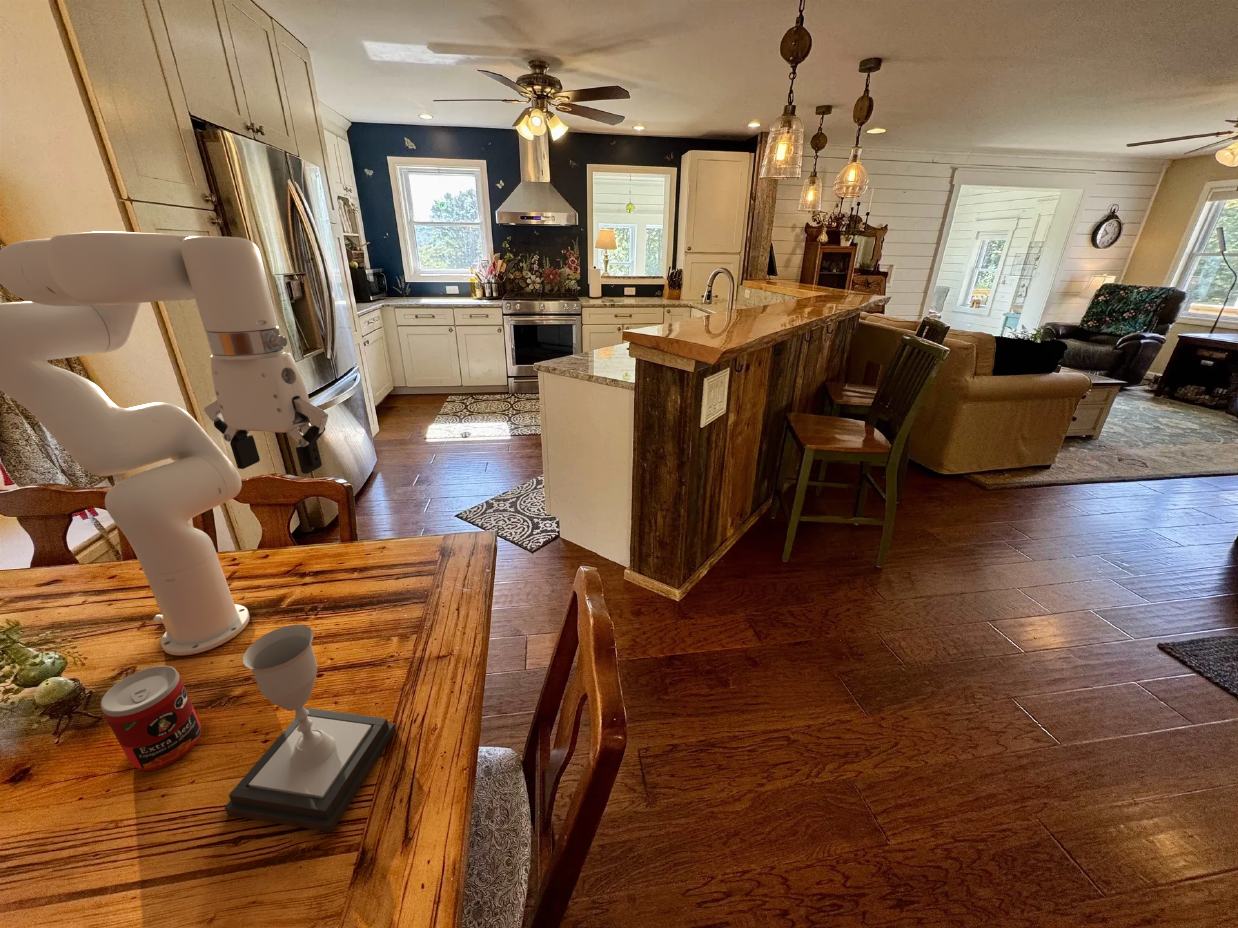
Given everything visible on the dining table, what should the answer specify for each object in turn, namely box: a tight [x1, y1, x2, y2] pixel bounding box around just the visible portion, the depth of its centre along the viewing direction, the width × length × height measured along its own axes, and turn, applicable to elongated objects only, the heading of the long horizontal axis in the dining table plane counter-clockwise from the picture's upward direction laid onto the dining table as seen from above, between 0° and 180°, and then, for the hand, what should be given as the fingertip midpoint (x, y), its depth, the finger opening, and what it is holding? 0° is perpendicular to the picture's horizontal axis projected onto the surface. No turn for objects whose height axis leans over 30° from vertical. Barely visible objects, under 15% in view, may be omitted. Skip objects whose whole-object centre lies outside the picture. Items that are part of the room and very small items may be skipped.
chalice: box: [242, 624, 335, 770], centre depth 61 cm, size 7×7×18 cm
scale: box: [224, 706, 397, 834], centre depth 66 cm, size 14×14×3 cm
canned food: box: [100, 665, 202, 772], centre depth 67 cm, size 8×8×11 cm
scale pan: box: [249, 716, 372, 800], centre depth 65 cm, size 10×10×2 cm
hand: (280, 467), depth 69 cm, fingers open, 9 cm apart
